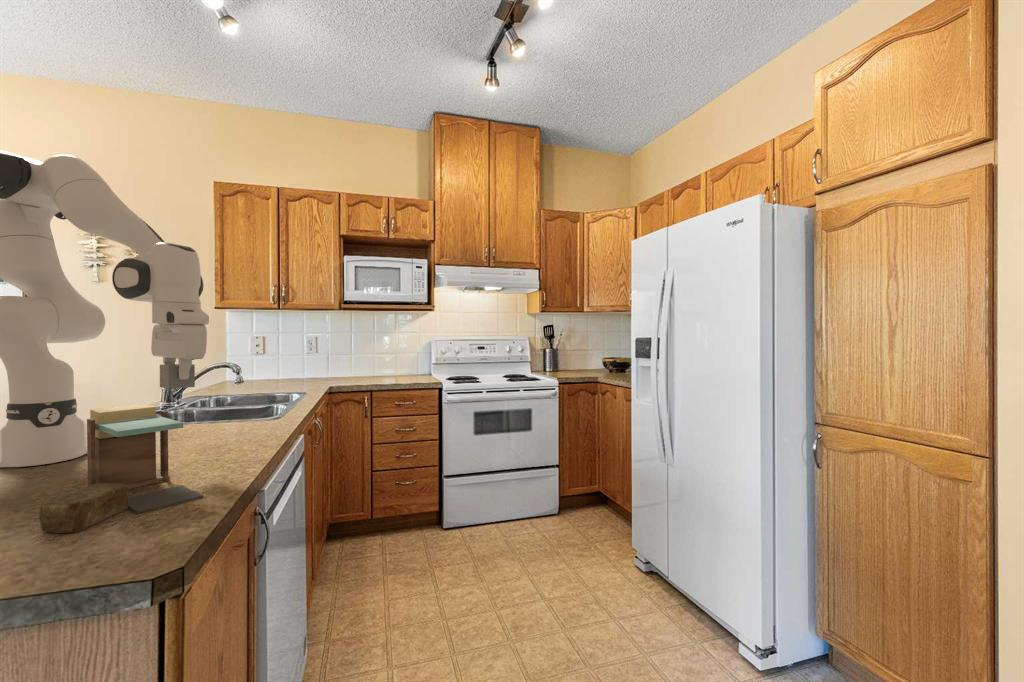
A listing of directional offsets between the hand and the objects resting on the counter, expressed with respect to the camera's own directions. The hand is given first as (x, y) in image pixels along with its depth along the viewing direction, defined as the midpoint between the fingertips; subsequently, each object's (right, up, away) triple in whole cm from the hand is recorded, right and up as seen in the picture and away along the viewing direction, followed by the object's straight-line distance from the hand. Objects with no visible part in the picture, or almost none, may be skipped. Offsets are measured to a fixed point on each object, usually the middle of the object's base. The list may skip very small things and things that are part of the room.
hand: (177, 378), depth 105 cm
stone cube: (0, -2, 0) cm, 2 cm away
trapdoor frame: (-3, -21, -10) cm, 23 cm away
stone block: (+5, -22, -28) cm, 36 cm away
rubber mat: (+10, -21, -18) cm, 30 cm away
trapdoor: (+1, -10, -14) cm, 17 cm away
